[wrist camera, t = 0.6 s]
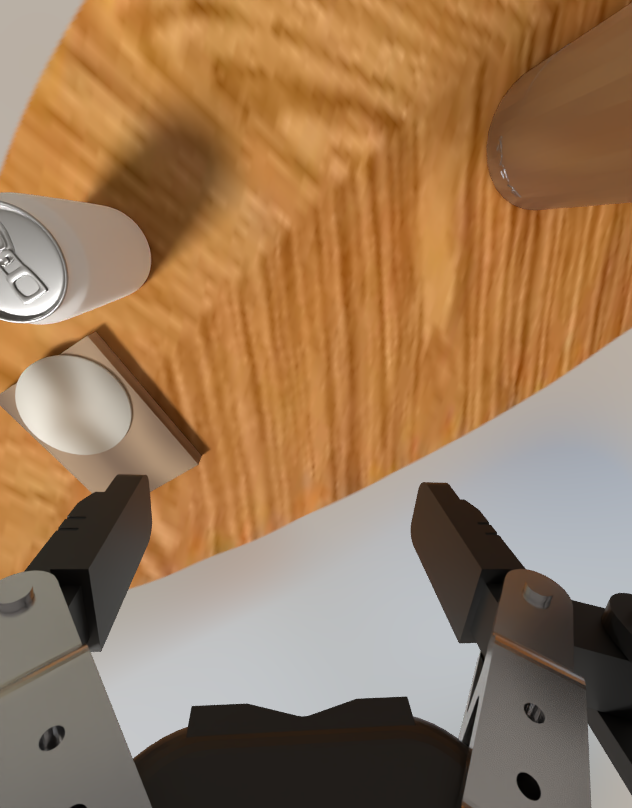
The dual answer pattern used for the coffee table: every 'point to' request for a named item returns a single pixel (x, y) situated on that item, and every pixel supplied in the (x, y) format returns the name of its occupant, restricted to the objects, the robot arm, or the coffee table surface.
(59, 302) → the can
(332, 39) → the coffee table surface
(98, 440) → the board
